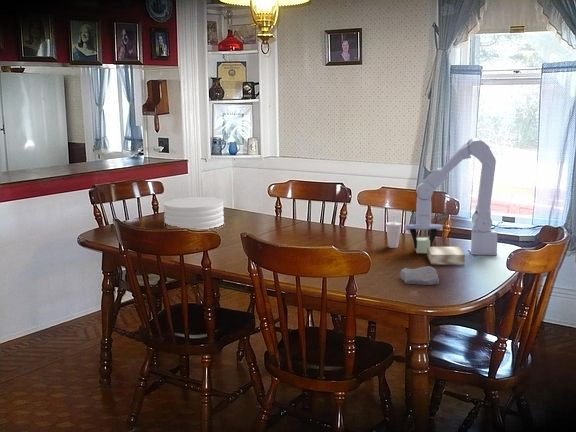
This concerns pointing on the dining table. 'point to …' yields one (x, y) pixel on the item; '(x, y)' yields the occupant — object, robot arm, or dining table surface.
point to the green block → (422, 245)
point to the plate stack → (194, 212)
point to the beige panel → (445, 255)
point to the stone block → (420, 276)
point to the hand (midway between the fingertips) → (422, 247)
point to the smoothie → (393, 233)
